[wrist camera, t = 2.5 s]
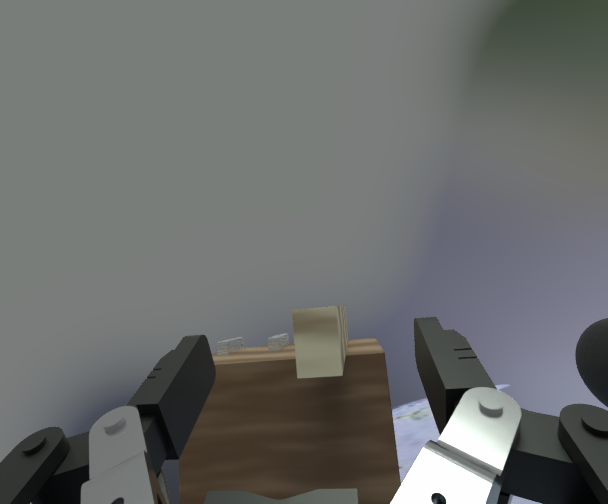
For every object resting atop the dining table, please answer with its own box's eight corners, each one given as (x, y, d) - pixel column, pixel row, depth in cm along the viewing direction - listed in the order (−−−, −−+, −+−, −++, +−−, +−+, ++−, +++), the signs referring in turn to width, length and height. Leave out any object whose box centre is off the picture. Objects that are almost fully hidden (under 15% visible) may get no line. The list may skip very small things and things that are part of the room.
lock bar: (342, 375, 22) (335, 306, 23) (297, 378, 22) (291, 310, 23) (348, 339, 45) (344, 305, 45) (325, 341, 45) (322, 307, 46)
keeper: (278, 351, 39) (278, 337, 39) (217, 355, 40) (216, 342, 40) (288, 345, 45) (287, 333, 45) (235, 349, 46) (234, 337, 46)
